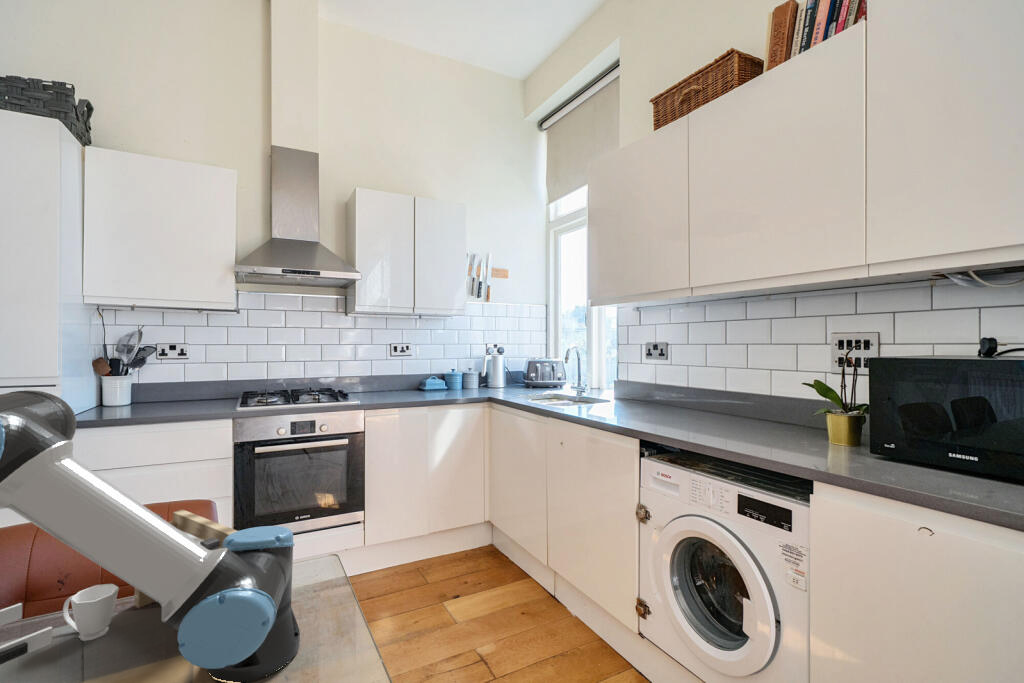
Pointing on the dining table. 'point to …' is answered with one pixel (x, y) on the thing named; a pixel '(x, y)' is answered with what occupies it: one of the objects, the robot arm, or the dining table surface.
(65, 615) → the cup
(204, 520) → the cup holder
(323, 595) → the dining table surface
